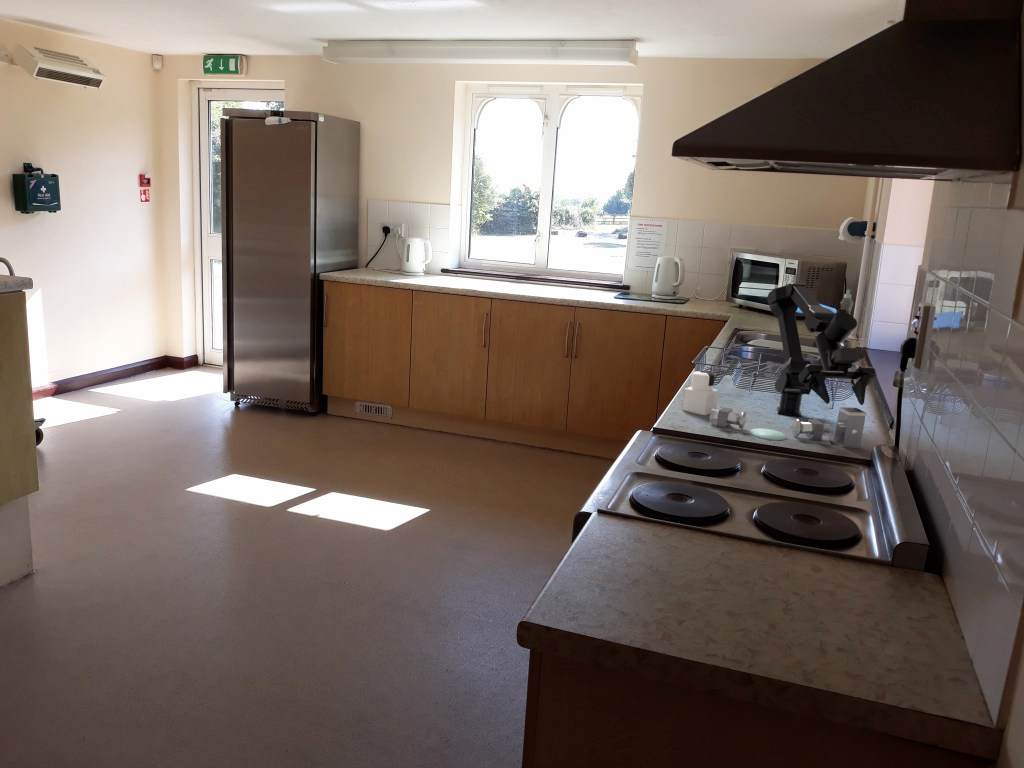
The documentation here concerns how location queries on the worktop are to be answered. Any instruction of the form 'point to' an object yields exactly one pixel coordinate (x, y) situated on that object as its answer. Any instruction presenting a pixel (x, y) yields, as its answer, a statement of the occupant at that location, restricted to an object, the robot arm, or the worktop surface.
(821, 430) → the shaft
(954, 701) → the worktop surface
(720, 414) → the shaft
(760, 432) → the coupling board
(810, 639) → the worktop surface
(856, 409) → the block
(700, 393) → the medicine bottle
